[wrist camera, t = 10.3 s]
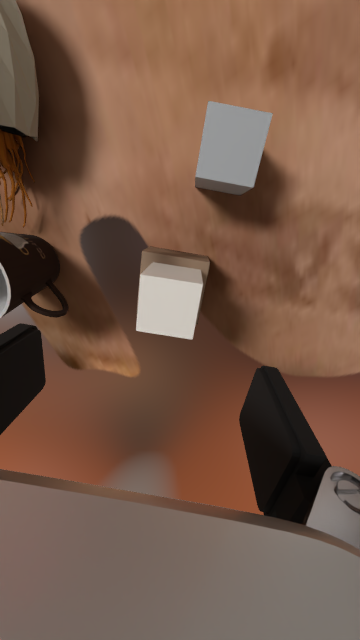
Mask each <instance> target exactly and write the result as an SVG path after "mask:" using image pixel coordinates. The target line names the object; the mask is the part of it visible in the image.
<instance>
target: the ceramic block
mask: <svg viewBox="0 0 360 640" xmlns="http://www.w3.org/2000/svg"><path fill="white" fill-rule="evenodd" d="M202 287H203V281H202V274H201V270H199V269H193V268H187V267H180V266H174V265H168V264H161V263H155V262H153V263H151V264H150V265H149V266H148V267H147V268H146V269H145V270H144V271H143V272H142V273H141V274H140V285H139V299H138V312H137V325H136V331H141V332H147V333H154V334H160V335H167V336H174V337H180V338H186V339H193V334H194V329H195V324H196V319H197V313H198V308H199V303H200V298H201V292H202Z"/></svg>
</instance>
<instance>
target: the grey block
mask: <svg viewBox="0 0 360 640" xmlns="http://www.w3.org/2000/svg"><path fill="white" fill-rule="evenodd" d="M272 114H273V113H268V112H263V111H258V110H252V109H247V108H242V107H237V106H232V105H227V104H222V103H216V102H211V101H208V106H207V112H206V118H205V124H204V130H203V136H202V142H201V147H200V153H199V159H198V165H197V171H196V178H195V187H198V188H203V189H208V190H214V191H219V192H224V193H230V194H235V195H242V194H243V193H245V192H247V191H249V190H250V189H252V188H253V187H254V183H255V179H256V175H257V172H258V168H259V164H260V160H261V156H262V152H263V149H264V145H265V141H266V137H267V133H268V129H269V126H270V122H271V118H272Z"/></svg>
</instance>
